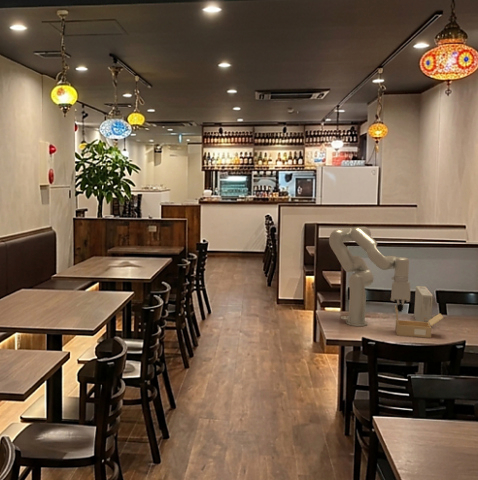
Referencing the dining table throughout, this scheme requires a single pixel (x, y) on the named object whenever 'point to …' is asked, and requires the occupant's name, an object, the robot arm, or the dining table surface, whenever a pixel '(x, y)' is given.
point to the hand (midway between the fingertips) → (399, 311)
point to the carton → (413, 329)
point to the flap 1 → (396, 314)
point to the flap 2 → (435, 319)
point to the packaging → (423, 304)
